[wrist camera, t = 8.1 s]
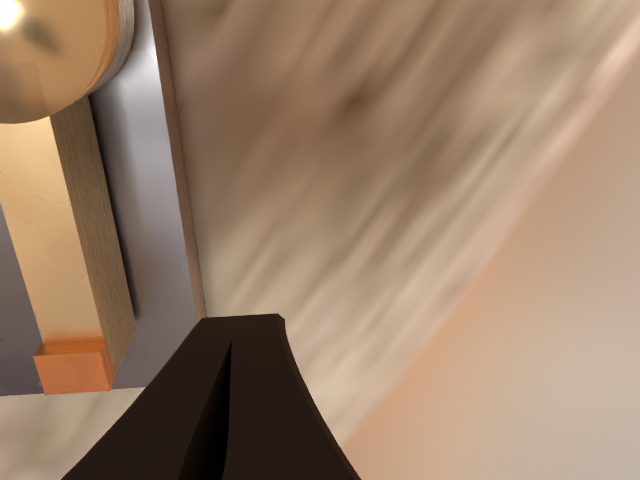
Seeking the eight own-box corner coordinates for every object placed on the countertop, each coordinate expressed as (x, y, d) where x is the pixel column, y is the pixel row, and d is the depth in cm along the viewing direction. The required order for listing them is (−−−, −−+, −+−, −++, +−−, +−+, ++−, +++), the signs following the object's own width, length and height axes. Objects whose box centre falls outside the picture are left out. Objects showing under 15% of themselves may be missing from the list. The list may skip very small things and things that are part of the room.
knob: (-95, -105, 11) (-214, -134, 9) (115, -111, 12) (63, -140, 9) (38, 332, 16) (-11, 401, 13) (185, 323, 16) (165, 390, 14)
